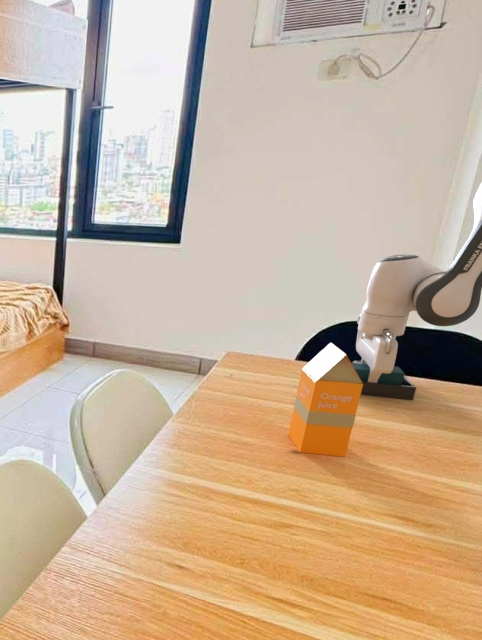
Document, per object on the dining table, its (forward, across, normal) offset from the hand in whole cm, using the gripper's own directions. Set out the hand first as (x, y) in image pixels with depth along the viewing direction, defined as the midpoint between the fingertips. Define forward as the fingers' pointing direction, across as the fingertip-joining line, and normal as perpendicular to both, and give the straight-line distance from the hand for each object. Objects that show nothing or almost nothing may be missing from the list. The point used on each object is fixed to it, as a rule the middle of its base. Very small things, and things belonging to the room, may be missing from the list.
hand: (367, 380), depth 152 cm
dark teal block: (+2, 0, 0) cm, 2 cm away
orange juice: (+3, -42, +16) cm, 45 cm away
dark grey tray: (+2, 0, 0) cm, 2 cm away
